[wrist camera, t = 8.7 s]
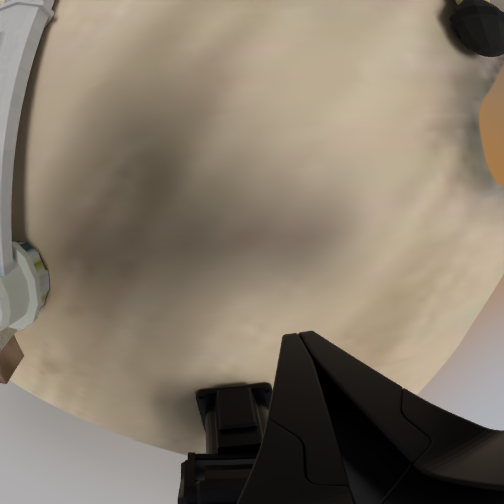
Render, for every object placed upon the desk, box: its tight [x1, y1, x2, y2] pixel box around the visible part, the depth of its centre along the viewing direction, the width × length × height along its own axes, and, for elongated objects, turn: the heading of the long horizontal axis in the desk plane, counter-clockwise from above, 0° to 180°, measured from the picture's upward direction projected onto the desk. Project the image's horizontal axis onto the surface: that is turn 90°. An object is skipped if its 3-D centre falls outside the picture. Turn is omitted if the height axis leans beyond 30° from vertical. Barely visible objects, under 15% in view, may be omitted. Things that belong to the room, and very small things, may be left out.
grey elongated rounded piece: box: [0, 0, 55, 331], centre depth 13 cm, size 5×7×25 cm
